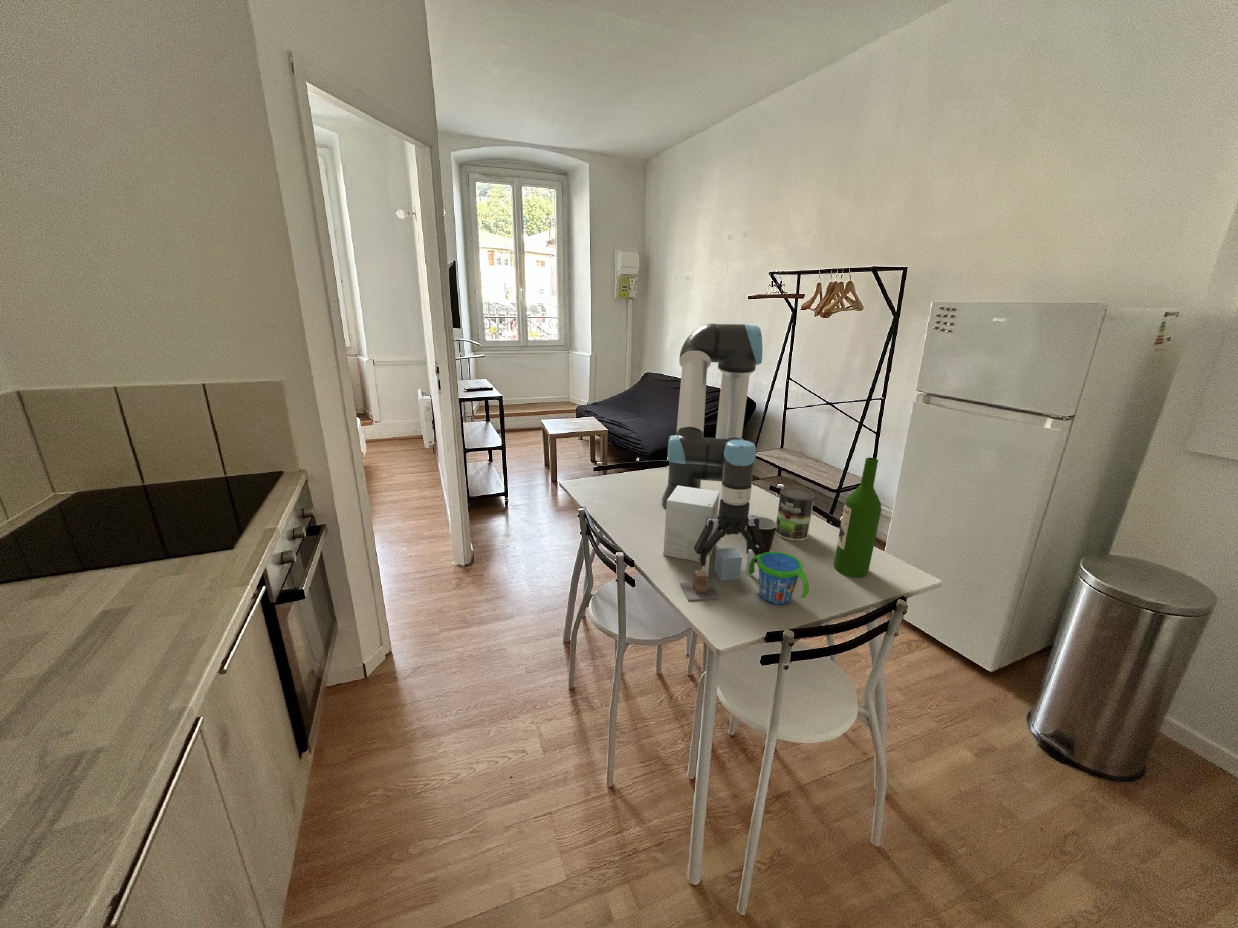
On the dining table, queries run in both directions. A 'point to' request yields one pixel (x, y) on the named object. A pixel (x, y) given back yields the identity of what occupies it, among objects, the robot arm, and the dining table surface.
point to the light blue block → (728, 564)
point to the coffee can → (794, 513)
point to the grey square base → (699, 588)
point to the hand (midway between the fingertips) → (727, 574)
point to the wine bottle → (859, 526)
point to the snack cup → (778, 576)
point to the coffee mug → (763, 533)
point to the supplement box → (688, 520)
